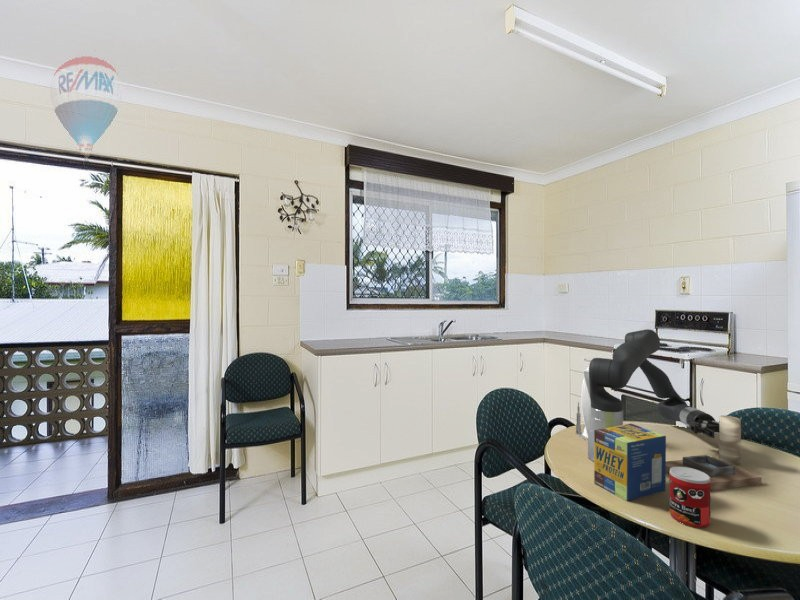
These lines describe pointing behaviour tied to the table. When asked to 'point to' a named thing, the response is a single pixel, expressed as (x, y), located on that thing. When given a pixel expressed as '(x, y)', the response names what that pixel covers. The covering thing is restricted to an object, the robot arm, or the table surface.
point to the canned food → (689, 496)
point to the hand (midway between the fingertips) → (727, 435)
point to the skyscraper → (584, 407)
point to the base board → (717, 471)
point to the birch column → (730, 439)
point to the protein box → (630, 461)
